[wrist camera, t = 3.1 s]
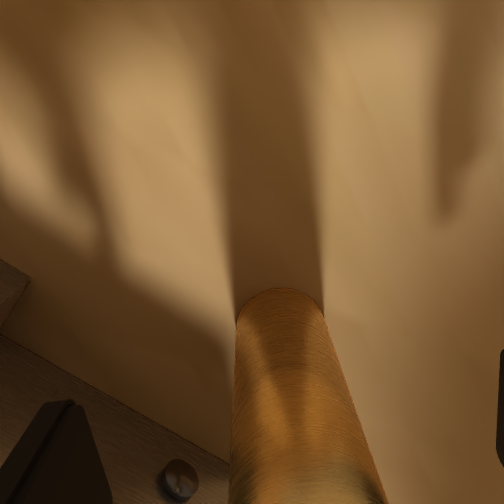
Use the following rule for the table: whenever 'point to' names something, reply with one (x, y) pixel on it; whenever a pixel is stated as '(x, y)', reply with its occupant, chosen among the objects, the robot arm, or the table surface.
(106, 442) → the hinge body
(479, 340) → the table surface
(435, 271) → the table surface
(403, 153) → the table surface
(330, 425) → the hinge pin
